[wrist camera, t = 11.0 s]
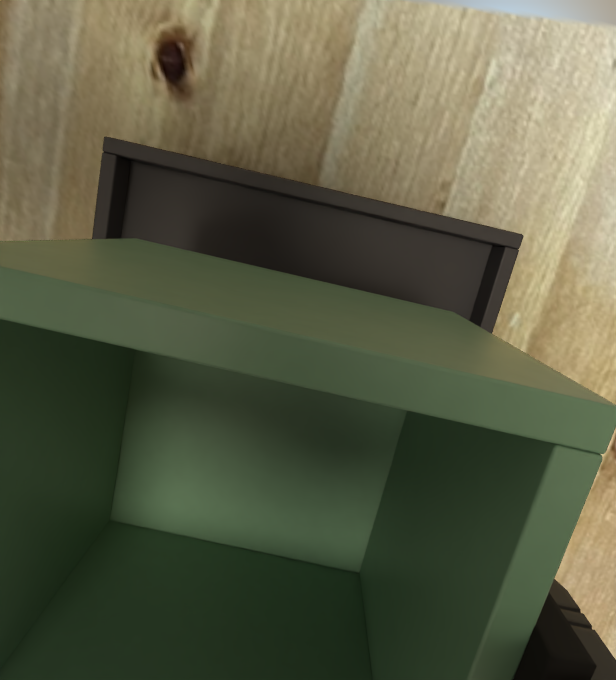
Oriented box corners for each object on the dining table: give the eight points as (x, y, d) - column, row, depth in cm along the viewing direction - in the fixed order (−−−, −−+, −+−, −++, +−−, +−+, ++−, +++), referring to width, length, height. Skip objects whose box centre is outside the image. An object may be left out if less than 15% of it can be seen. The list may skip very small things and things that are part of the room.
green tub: (134, 237, 15) (-107, 241, 7) (454, 312, 16) (625, 409, 7) (93, 524, 18) (-122, 802, 9) (372, 583, 18) (422, 908, 9)
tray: (124, 145, 20) (103, 135, 18) (504, 234, 21) (524, 234, 19) (80, 491, 24) (58, 515, 22) (402, 559, 25) (409, 588, 23)
